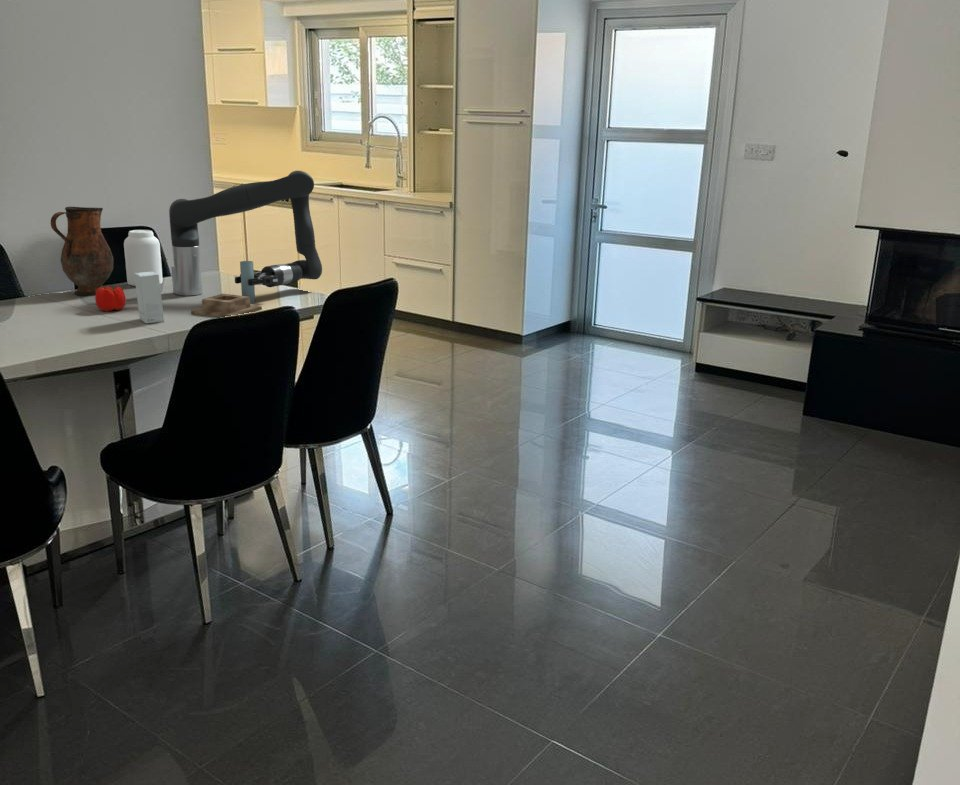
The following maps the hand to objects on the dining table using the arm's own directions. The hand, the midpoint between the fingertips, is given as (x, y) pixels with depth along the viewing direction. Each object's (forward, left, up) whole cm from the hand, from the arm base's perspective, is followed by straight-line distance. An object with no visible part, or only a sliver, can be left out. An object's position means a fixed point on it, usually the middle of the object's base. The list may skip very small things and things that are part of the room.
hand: (242, 281), depth 293 cm
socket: (+3, -14, -8) cm, 16 cm away
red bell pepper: (-30, -30, -8) cm, 43 cm away
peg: (0, +2, -8) cm, 8 cm away
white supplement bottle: (-53, +11, -8) cm, 54 cm away
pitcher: (-56, -14, -8) cm, 58 cm away
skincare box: (-9, -36, -8) cm, 37 cm away
